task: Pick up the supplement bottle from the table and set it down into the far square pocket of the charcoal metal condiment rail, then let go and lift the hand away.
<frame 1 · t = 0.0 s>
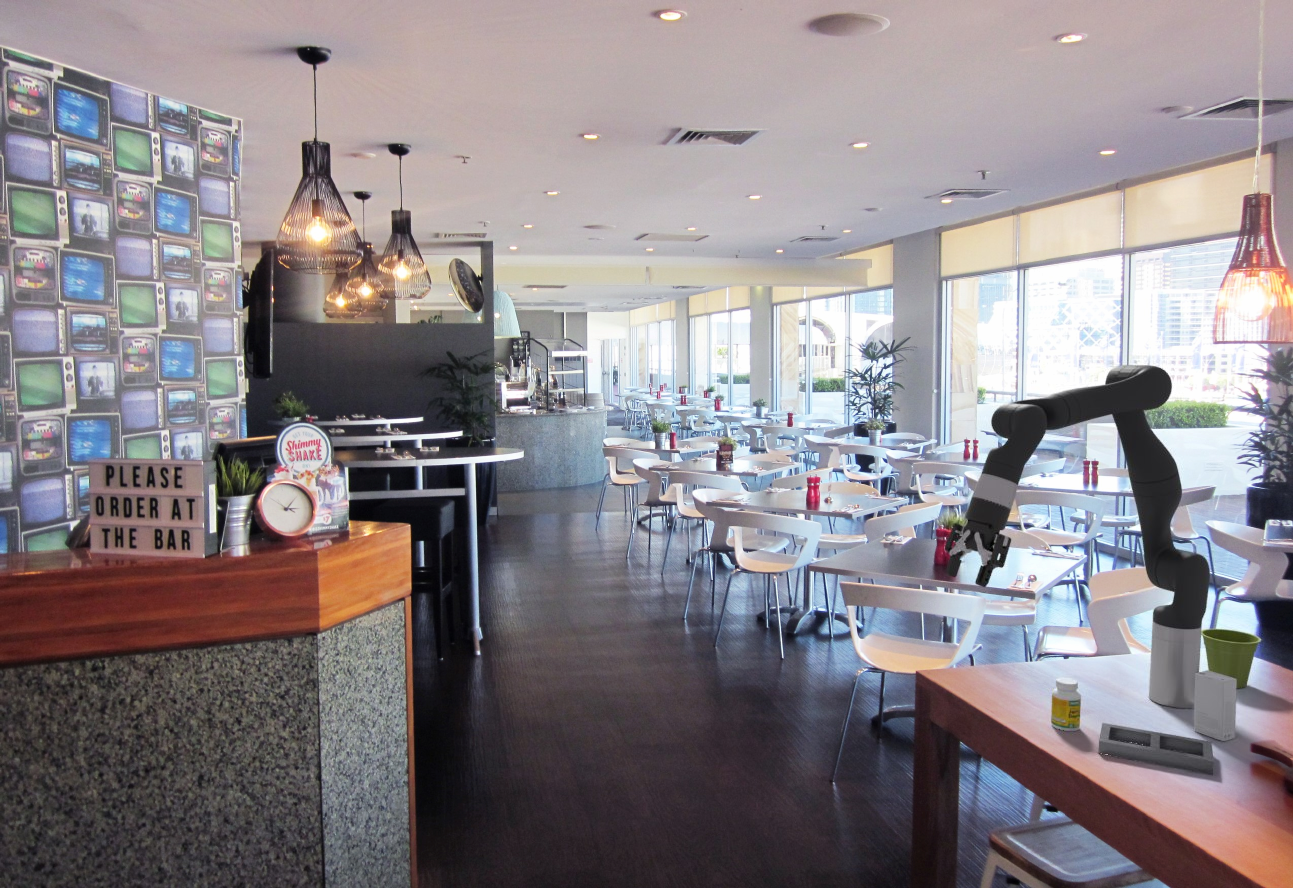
hand: (964, 580, 180), 31 cm above the table, tool tilted 20°, fingers open, 8 cm apart
skincare box: (1213, 735, 185), on the table
condiment rail: (1154, 753, 176), on the table
plant pot: (1227, 684, 214), on the table
supplement bottle: (1065, 727, 189), on the table
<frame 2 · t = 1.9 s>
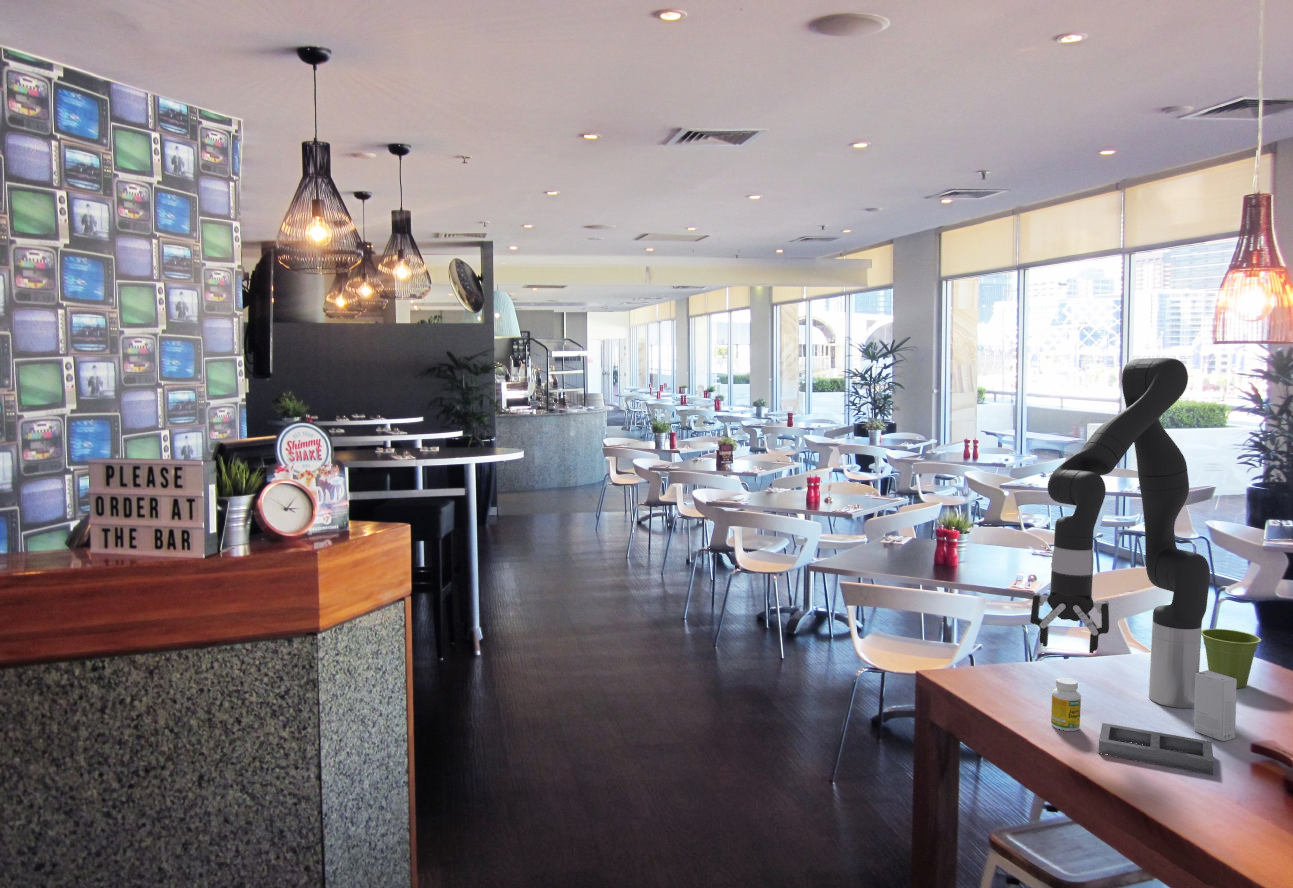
hand: (1068, 648, 187), 16 cm above the table, tool pointing down, fingers open, 8 cm apart
nothing on the table moved.
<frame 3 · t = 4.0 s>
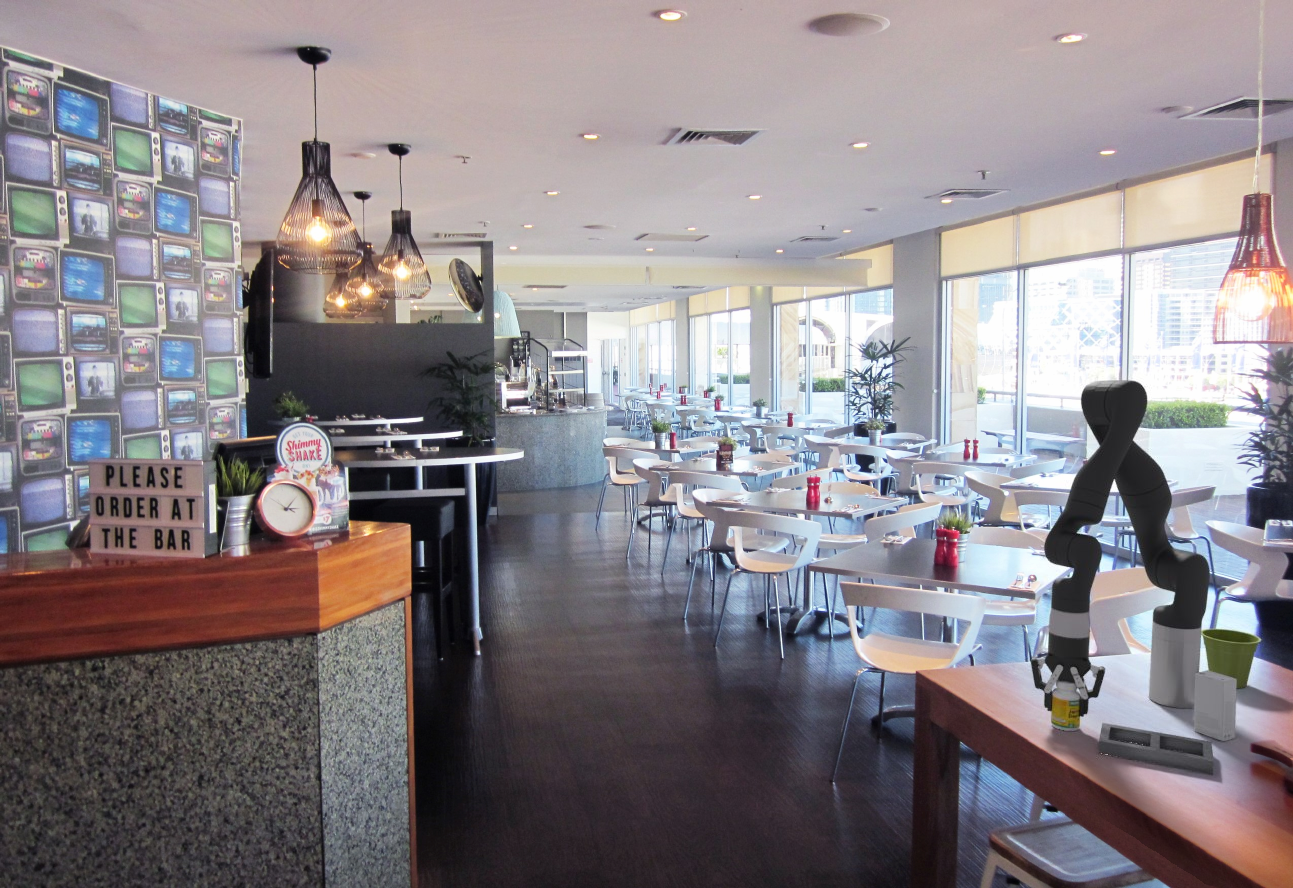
hand: (1065, 712, 188), 3 cm above the table, tool pointing down, fingers closed on supplement bottle, 5 cm apart
supplement bottle: (1065, 727, 189), on the table, touching gripper
everything else where it was.
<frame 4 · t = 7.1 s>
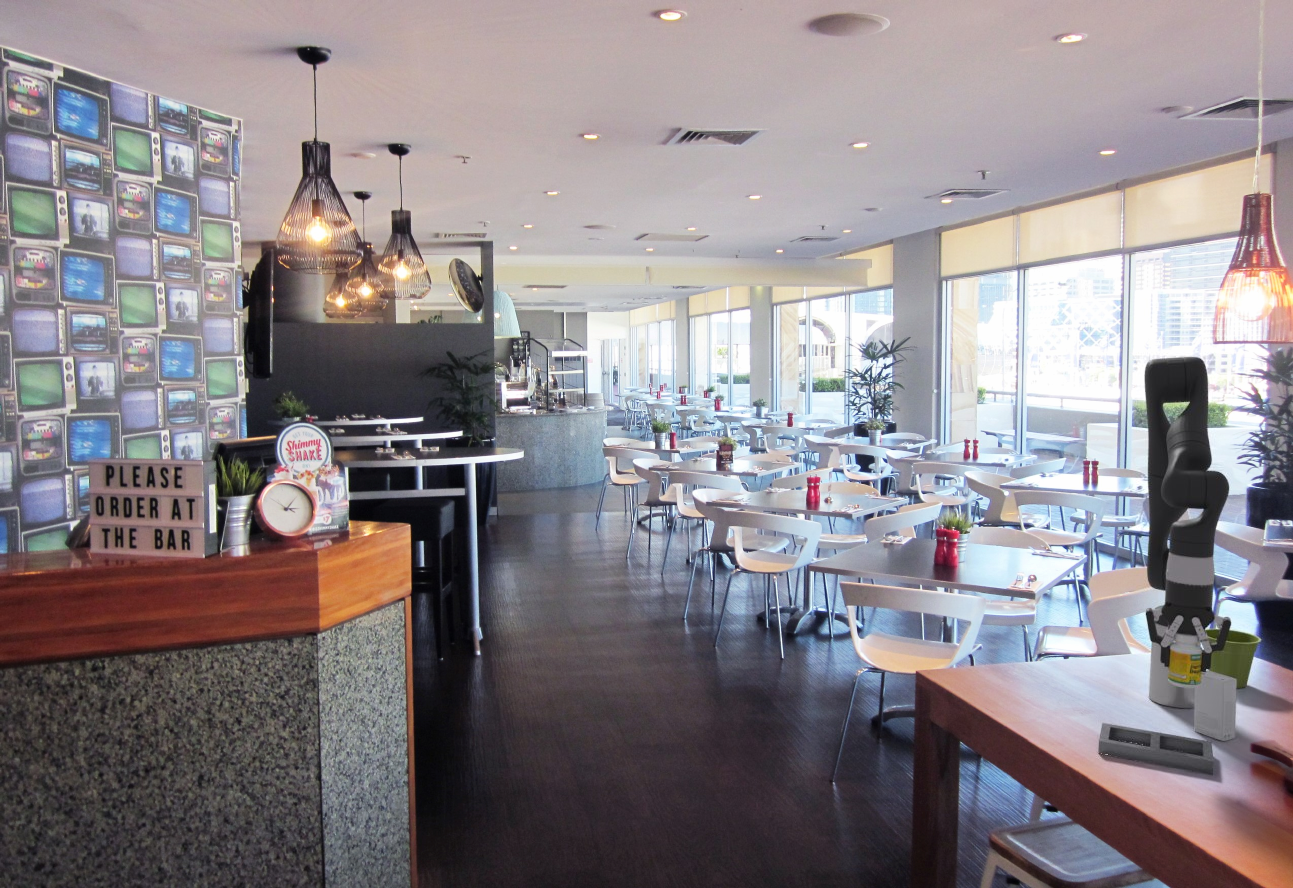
hand: (1184, 667, 172), 17 cm above the table, tool pointing down, fingers closed on supplement bottle, 5 cm apart
supplement bottle: (1183, 684, 172), point 14 cm above the table, touching gripper
everything else where it was.
when the fingers open (4 cm above the table, at t = 10.5 s): supplement bottle stays where it is, resting in condiment rail.
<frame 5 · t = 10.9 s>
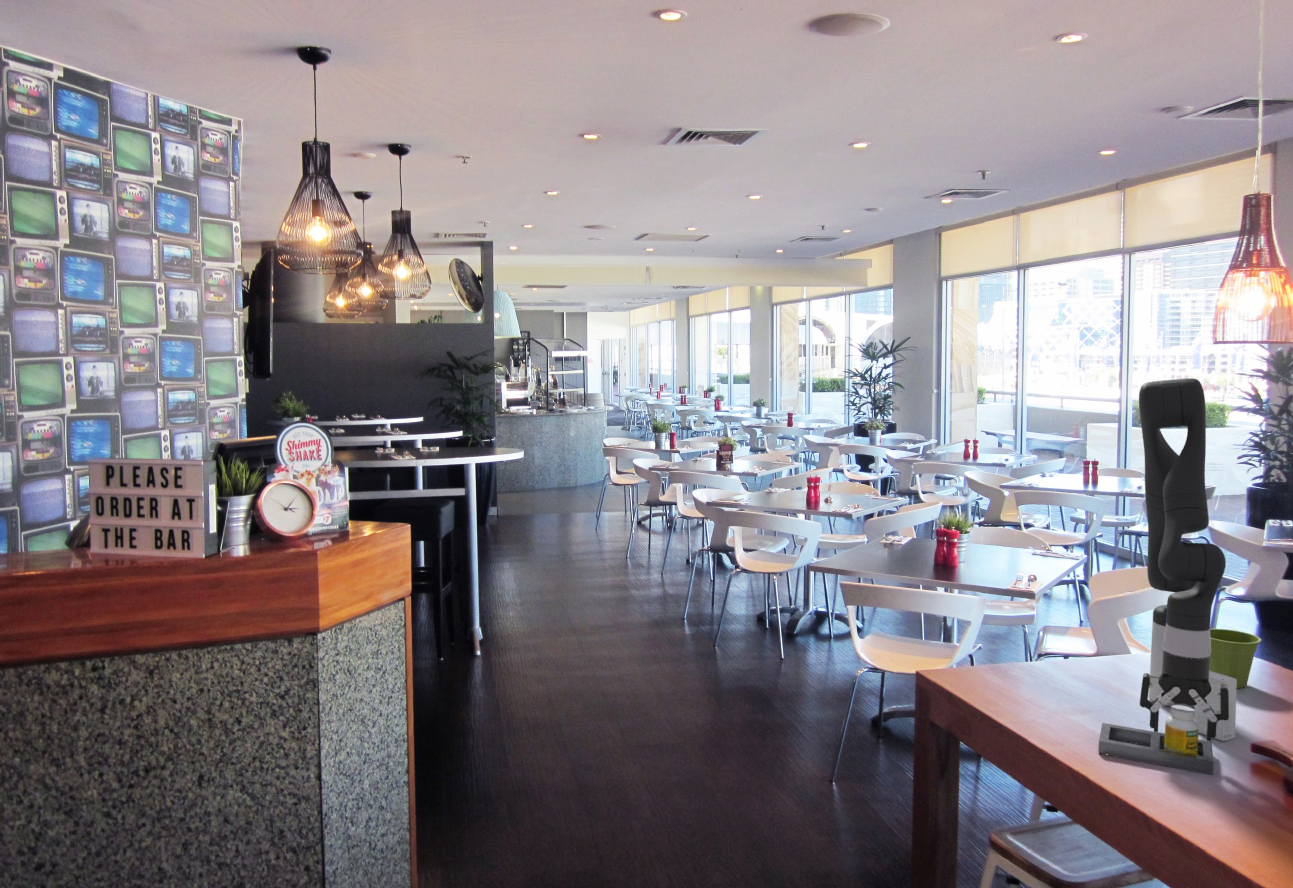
hand: (1181, 734, 173), 5 cm above the table, tool pointing down, fingers open, 8 cm apart
supplement bottle: (1180, 759, 174), resting in condiment rail
everything else where it was.
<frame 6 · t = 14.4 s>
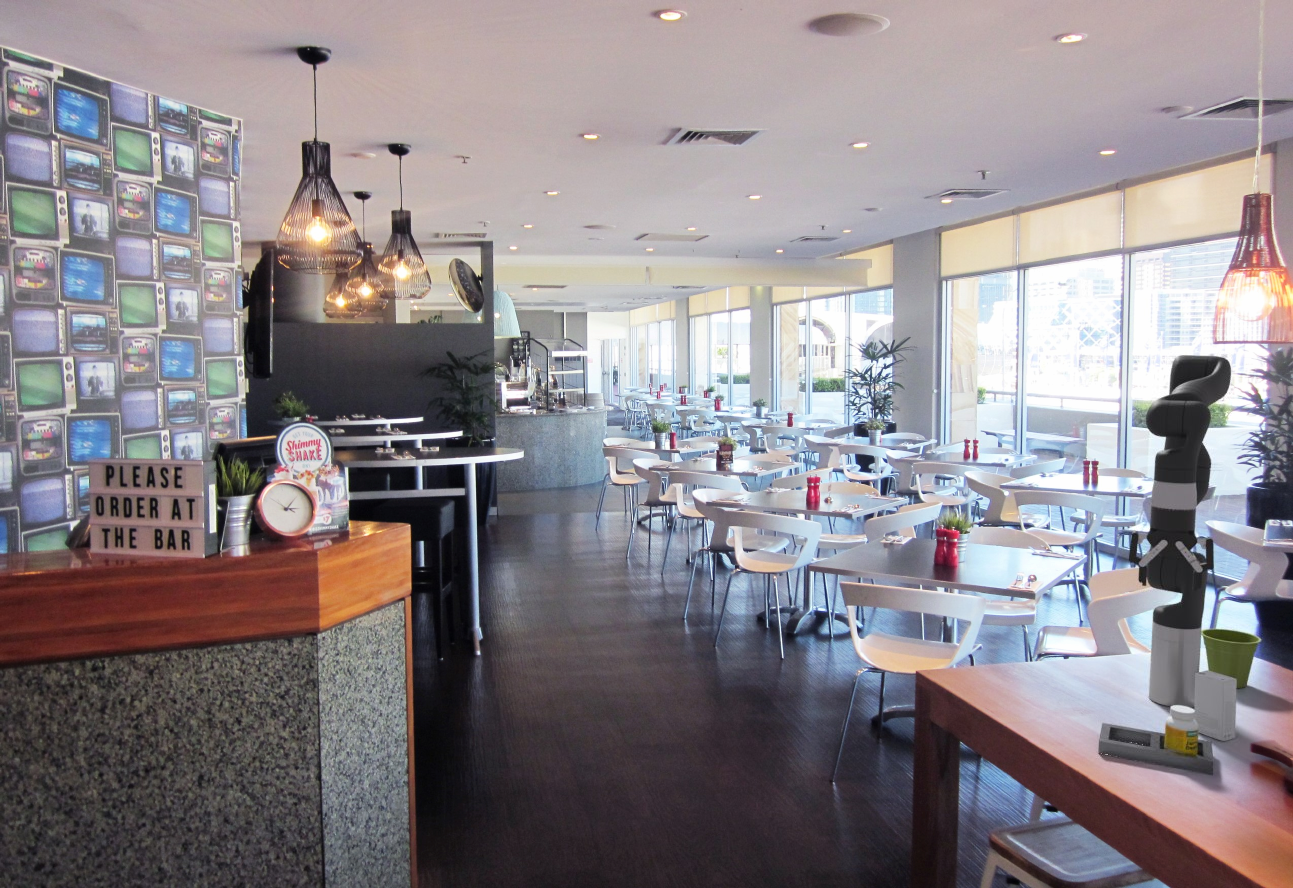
hand: (1169, 587, 180), 30 cm above the table, tool pointing down, fingers open, 8 cm apart
nothing on the table moved.
at the end: supplement bottle 0.0 cm from the target spot on the condiment rail, point 0.0 cm above the condiment rail's base; supplement bottle tilted 0°; the gripper is holding nothing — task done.
